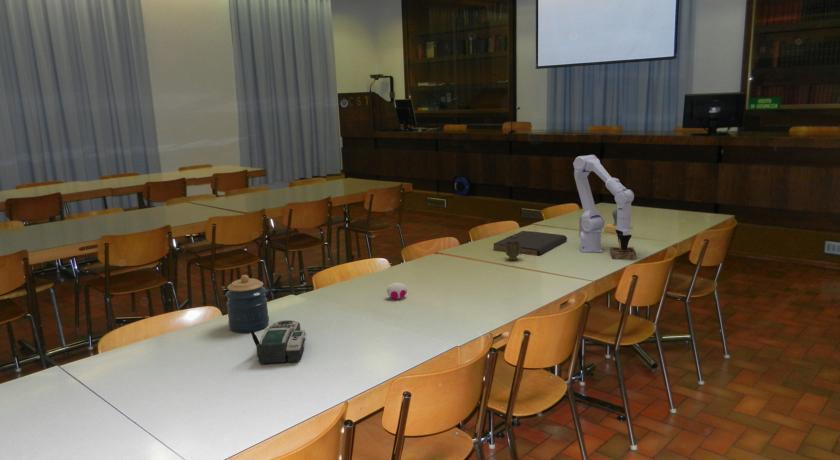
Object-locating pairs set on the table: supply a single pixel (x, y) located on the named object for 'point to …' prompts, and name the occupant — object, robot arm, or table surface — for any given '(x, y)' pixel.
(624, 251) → the peg
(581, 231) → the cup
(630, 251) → the box
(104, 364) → the table surface
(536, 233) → the file folder
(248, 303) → the canister
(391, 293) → the stress ball
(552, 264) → the table surface
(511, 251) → the cup
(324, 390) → the table surface
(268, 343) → the communication device
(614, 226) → the rubber stamp
